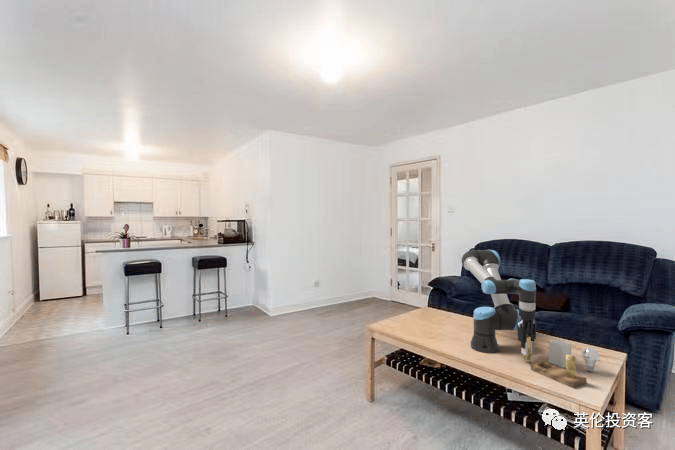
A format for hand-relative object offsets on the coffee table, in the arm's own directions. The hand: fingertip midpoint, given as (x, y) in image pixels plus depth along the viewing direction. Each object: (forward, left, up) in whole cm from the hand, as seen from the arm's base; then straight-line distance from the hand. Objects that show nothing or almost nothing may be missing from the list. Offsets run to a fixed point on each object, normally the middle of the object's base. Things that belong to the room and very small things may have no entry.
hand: (526, 353), depth 173 cm
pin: (0, 0, -3) cm, 3 cm away
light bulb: (+21, +18, -5) cm, 28 cm away
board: (+17, -1, -5) cm, 17 cm away
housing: (+9, +14, -5) cm, 17 cm away
